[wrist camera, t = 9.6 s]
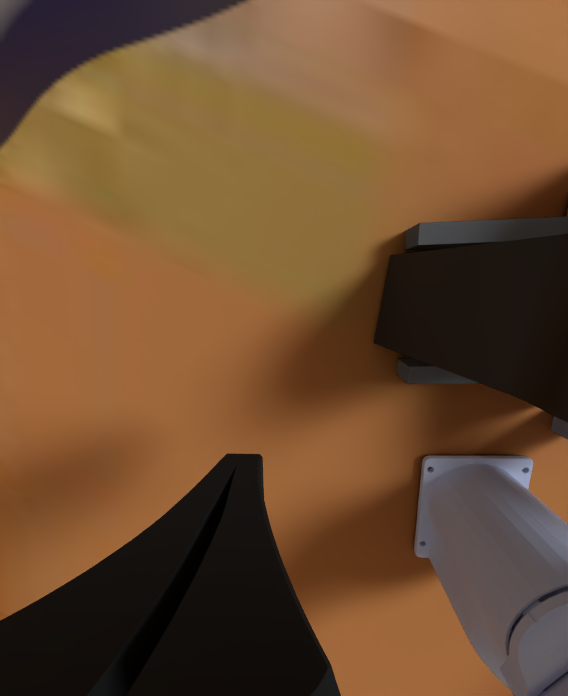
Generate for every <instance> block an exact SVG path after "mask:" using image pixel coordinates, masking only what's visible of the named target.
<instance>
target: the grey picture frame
mask: <svg viewBox="0 0 568 696" xmlns="http://www.w3.org/2000/svg"><path fill="white" fill-rule="evenodd" d="M551 431H553V432H555V433H557V434H559V435H560V436H562V437H564V438H566V439H568V422H566V421H563V420H561V419H559V418H557V417H555V416H553V421H552V426H551Z"/></svg>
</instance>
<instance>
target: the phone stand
mask: <svg viewBox="0 0 568 696" xmlns="http://www.w3.org/2000/svg"><path fill="white" fill-rule="evenodd" d="M374 343H375V344H377V345H380V346H383V347H385V348H388V349H391V350H393V351H396V352H399V353H401V354H404V355H407V356H409V357H412V358H415V359H417V360H420V361H422V362H425V363H428V364H430V365H433V366H436V367H438V368H441V369H444V370H446V371H449V372H452V373H454V374H457V375H460V376H462V377H465V378H468V379H470V380H473V381H476V382H478V383H481V384H484V385H486V386H489V387H492V388H494V389H497V390H500V391H502V392H505V393H507V394H510V395H512V396H515V397H517V398H520V399H522V400H524V401H526V402H528V403H530V404H533V405H534V406H536V407H538V408H540V409H542V410H544V411H545V412H547V413H549V414H551V415H553V416H555V417H557V418H559V419H561V420H563V421H566V422H568V234H561V235H553V236H545V237H536V238H528V239H520V240H512V241H504V242H496V243H487V244H479V245H471V246H463V247H455V248H446V249H438V250H430V251H422V252H414V253H406V254H397V255H391V256H390V261H389V266H388V271H387V276H386V282H385V287H384V292H383V297H382V302H381V308H380V313H379V318H378V323H377V328H376V334H375V339H374Z"/></svg>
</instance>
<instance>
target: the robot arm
mask: <svg viewBox="0 0 568 696" xmlns="http://www.w3.org/2000/svg"><path fill="white" fill-rule="evenodd" d="M429 467H431V468H430V469H427V468H429ZM532 467H533V461H532V460H531V459H530V458H528V457H527V456H426V457H424V458H423V461H422V469H421V480H420V491H419V501H418V512H417V523H416V533H415V544H414V552H415V554H416V555H417V556H418V557H420V558H429V560H430V562H431V564H432V566H433V568H434V570H435V572H436V574H437V576H438V578H439V580H440V582H441V584H442V586H443V588H444V590H445V592H446V594H447V596H448V598H449V600H450V603H451V605H452V607H453V609H454V611H455V613H456V615H457V617H458V619H459V621H460V623H461V625H462V627H463V629H464V631H465V633H466V635H467V637H468V639H469V641H470V643H471V645H472V646H473V648H474V650H475V651H476V653H477V654H478V656H479V657H480V658H481V660H482V661H483V662H484V664H485V665H486V666H487V667H488V668H489V669H490V670H491V672H492V673H493V674H494V675H495V676H496V677H497V678H498V679H499V680H500V681H501V682H502V683H503V684H504V685H506V686H507V687H508V688H509V689H510V690H511V691H512V693H513V695H514V696H568V524H567V523H566V522H565V521H563V520H562V519H561V518H560V517H559V516H558V515H557V514H555V513H554V512H553V511H552V510H551V509H550V508H548V507H547V506H546V505H545V504H544V503H543V502H542V501H540V500H539V499H538V498H537V497H536V496H535V495H533V494H532V493H531V492H530V491H529V490H528V487H529V482H530V477H531V472H532ZM523 468H524V469H523ZM522 469H523V470H522ZM421 541H422V542H421ZM0 696H341V695H340V692H339V689H338V686H337V683H336V680H335V676H334V673H333V670H332V667H331V664H330V662H329V660H328V658H327V656H326V654H325V653H324V651H323V649H322V647H321V645H320V643H319V641H318V639H317V637H316V635H315V633H314V631H313V629H312V627H311V625H310V623H309V621H308V619H307V617H306V615H305V613H304V611H303V609H302V607H301V604H300V602H299V600H298V598H297V596H296V593H295V591H294V589H293V586H292V584H291V581H290V579H289V577H288V574H287V572H286V569H285V567H284V565H283V562H282V559H281V557H280V554H279V551H278V548H277V545H276V542H275V539H274V536H273V533H272V530H271V526H270V523H269V519H268V515H267V511H266V507H265V502H264V488H263V459H262V456H261V455H260V454H226V455H225V456H224V457H223V458H222V459H221V460H220V461H219V462H218V463H217V464H216V465H215V467H214V468H213V469H212V470H211V471H210V472H209V473H208V474H207V475H206V476H205V477H204V478H203V479H202V480H201V481H200V482H199V483H198V484H197V485H196V486H195V487H194V488H193V489H192V490H191V491H190V492H189V493H188V494H187V495H186V496H184V497H183V498H182V499H181V500H180V501H179V502H178V503H177V504H176V505H174V506H173V507H172V508H171V509H170V510H169V511H168V512H167V513H166V514H164V515H163V516H162V517H161V518H160V519H158V520H157V521H156V522H155V523H153V524H152V525H151V526H150V527H148V528H147V529H146V530H144V531H143V532H142V533H140V534H139V535H138V536H137V537H135V538H134V539H132V540H131V541H130V542H128V543H127V544H125V545H124V546H123V547H121V548H120V549H118V550H117V551H115V552H114V553H112V554H111V555H109V556H108V557H106V558H105V559H104V560H102V561H101V562H99V563H98V564H96V565H95V566H93V567H92V568H90V569H89V570H87V571H86V572H84V573H82V574H81V575H79V576H77V577H76V578H74V579H73V580H71V581H69V582H68V583H66V584H65V585H63V586H61V587H59V588H58V589H56V590H54V591H53V592H51V593H49V594H48V595H46V596H44V597H43V598H41V599H39V600H37V601H36V602H34V603H32V604H30V605H29V606H27V607H25V608H23V609H21V610H19V611H18V612H16V613H14V614H12V615H10V616H8V617H6V618H5V619H3V620H1V621H0Z"/></svg>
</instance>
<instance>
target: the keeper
mask: <svg viewBox="0 0 568 696" xmlns="http://www.w3.org/2000/svg"><path fill="white" fill-rule="evenodd" d="M561 234H568V216H566V217H544V218H521V219H499V220H477V221H455V222H432V223H419V224H417V225H415V226H413V227H412V228H410V229H408V230H406V236H405V250H416V249H441V248H455V247H463V246H471V245H479V244H487V243H496V242H504V241H512V240H520V239H528V238H536V237H545V236H553V235H561ZM397 375H398V376H399V377H400V378H401V379H402V380H403V381H405V382H406V383H407V384H463V383H478V382H476V381H473V380H470V379H468V378H465V377H462V376H460V375H457V374H454V373H452V372H449V371H446V370H444V369H441V368H438V367H436V366H433V365H430V364H428V363H425V362H422V361H420V360H417V359H398V360H397Z"/></svg>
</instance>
